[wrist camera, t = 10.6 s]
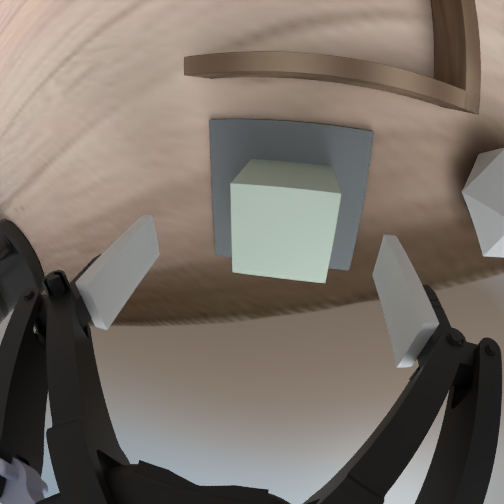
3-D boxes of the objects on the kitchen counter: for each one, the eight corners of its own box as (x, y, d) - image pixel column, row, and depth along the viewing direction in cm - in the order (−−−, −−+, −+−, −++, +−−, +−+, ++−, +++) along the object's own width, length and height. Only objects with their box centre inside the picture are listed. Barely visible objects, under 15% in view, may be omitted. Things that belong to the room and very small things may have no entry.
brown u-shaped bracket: (211, 78, 17) (183, 75, 13) (214, -39, 11) (191, -64, 7) (445, 107, 15) (478, 114, 10) (441, -12, 8) (468, -29, 4)
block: (250, 229, 23) (232, 272, 18) (251, 159, 20) (230, 183, 15) (322, 237, 22) (324, 283, 17) (332, 166, 19) (341, 193, 14)
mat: (217, 252, 26) (215, 255, 25) (211, 119, 19) (209, 119, 19) (348, 266, 24) (348, 270, 23) (371, 131, 17) (373, 132, 17)
